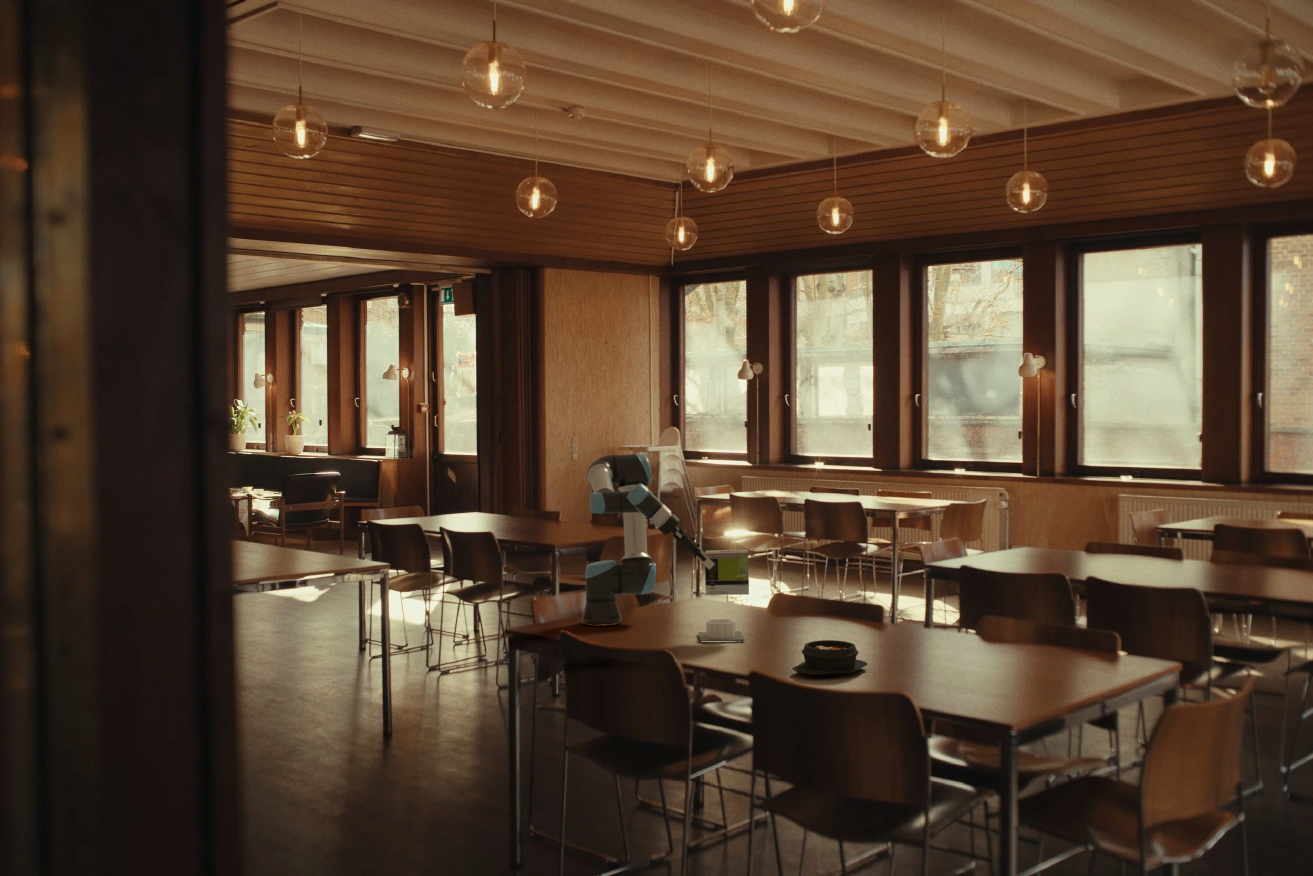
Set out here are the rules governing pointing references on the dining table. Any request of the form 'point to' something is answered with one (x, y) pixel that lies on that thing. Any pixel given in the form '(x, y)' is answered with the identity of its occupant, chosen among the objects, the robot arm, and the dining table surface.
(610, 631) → the dining table surface
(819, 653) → the casserole
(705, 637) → the bowl
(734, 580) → the tea box
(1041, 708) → the dining table surface
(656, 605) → the dining table surface
